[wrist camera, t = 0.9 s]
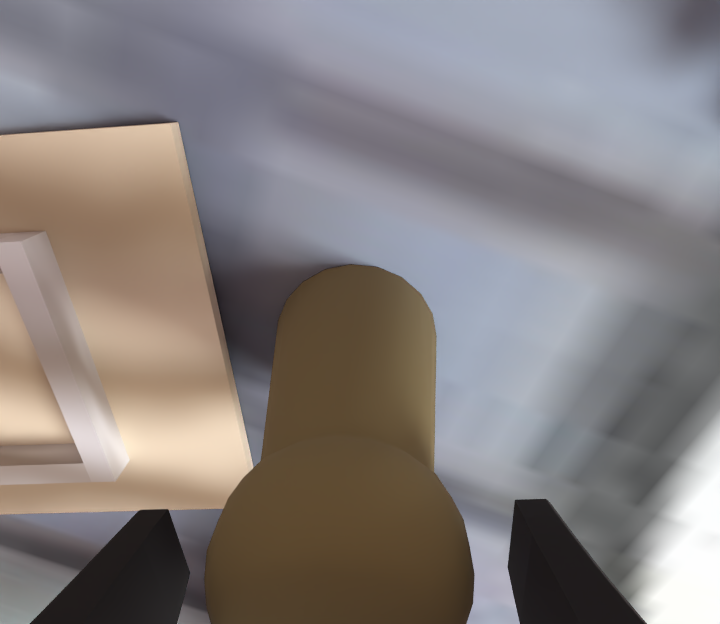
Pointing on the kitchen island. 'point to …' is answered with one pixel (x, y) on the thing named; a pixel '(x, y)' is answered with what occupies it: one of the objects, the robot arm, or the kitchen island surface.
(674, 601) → the kitchen island surface
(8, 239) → the socket board
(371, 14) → the kitchen island surface
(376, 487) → the cork
